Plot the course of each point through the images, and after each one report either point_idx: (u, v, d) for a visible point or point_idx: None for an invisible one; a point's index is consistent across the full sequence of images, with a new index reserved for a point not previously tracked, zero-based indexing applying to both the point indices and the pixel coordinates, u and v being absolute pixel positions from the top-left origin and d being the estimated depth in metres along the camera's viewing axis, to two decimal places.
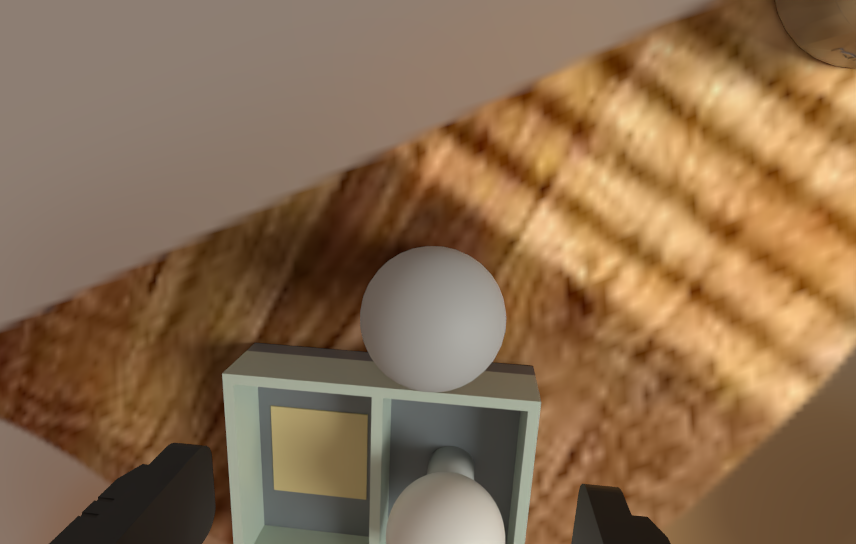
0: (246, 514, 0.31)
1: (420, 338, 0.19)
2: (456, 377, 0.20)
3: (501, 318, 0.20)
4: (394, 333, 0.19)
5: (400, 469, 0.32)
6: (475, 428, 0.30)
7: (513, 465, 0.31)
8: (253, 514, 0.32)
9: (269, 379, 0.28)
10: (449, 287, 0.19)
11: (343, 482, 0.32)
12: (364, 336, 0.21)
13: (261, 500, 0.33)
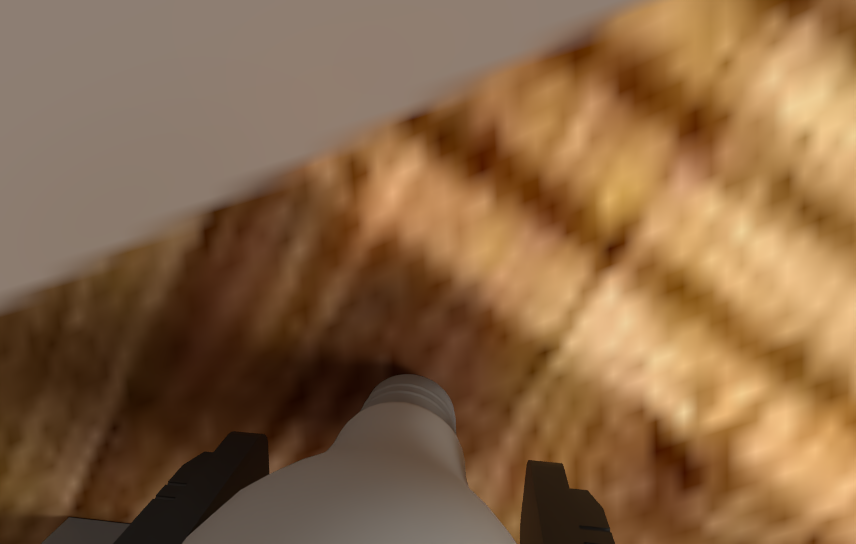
0: None
1: None
2: None
3: None
4: None
5: None
6: None
7: None
8: None
9: None
10: None
11: None
12: None
13: None
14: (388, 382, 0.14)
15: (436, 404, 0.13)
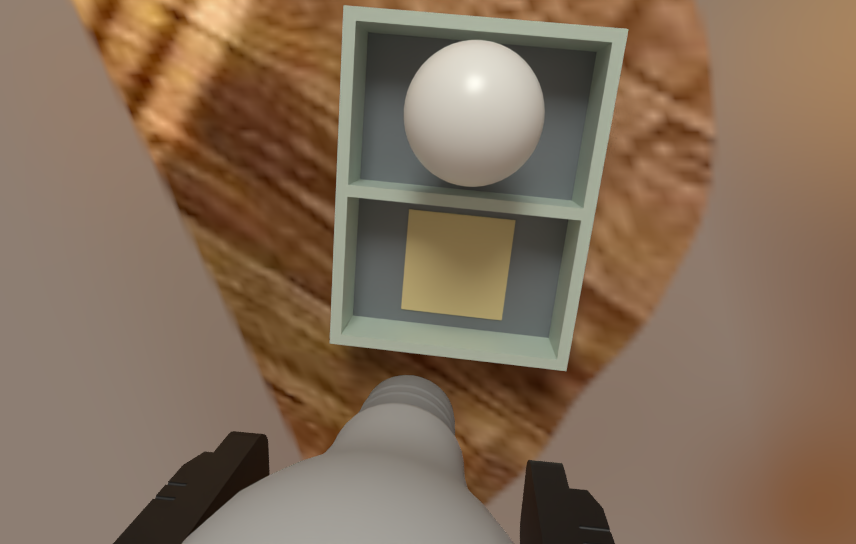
0: (503, 348, 0.28)
1: None
2: None
3: None
4: None
5: None
6: None
7: None
8: (515, 343, 0.29)
9: (334, 298, 0.28)
10: None
11: (493, 244, 0.29)
12: None
13: (512, 335, 0.30)
14: (387, 383, 0.14)
15: (435, 405, 0.13)
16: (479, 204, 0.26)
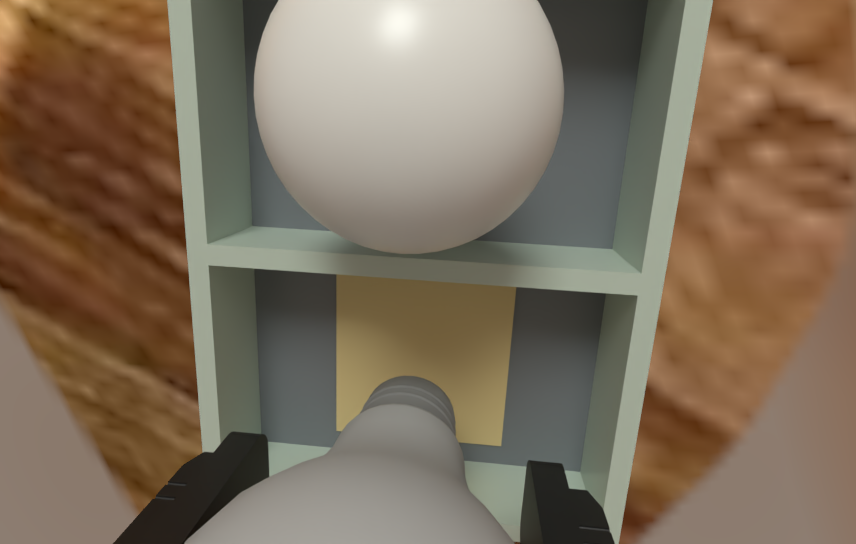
0: (504, 510, 0.16)
1: None
2: None
3: None
4: None
5: None
6: None
7: None
8: None
9: (206, 437, 0.16)
10: None
11: (480, 325, 0.17)
12: None
13: (520, 471, 0.18)
14: (388, 384, 0.14)
15: (436, 406, 0.13)
16: (446, 271, 0.14)
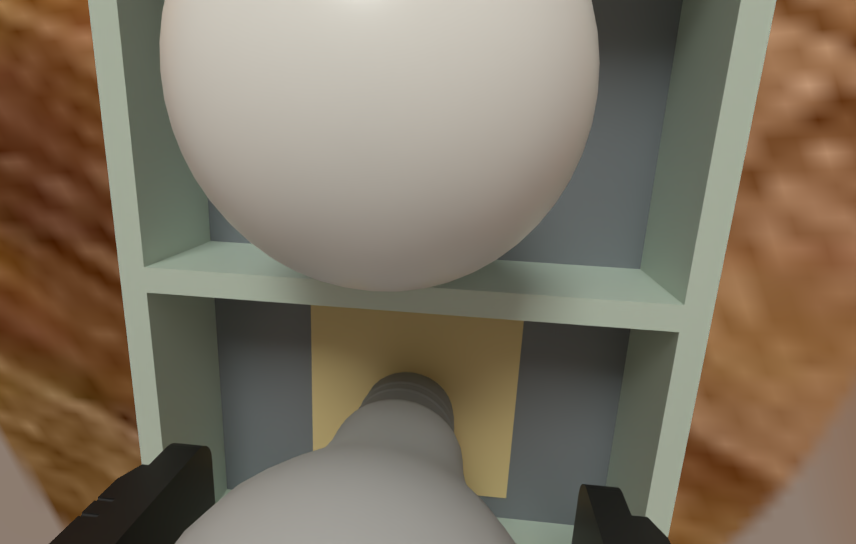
0: None
1: None
2: None
3: None
4: None
5: None
6: None
7: None
8: None
9: None
10: None
11: (482, 358, 0.15)
12: None
13: (529, 527, 0.16)
14: (386, 380, 0.14)
15: (434, 402, 0.13)
16: (439, 302, 0.11)
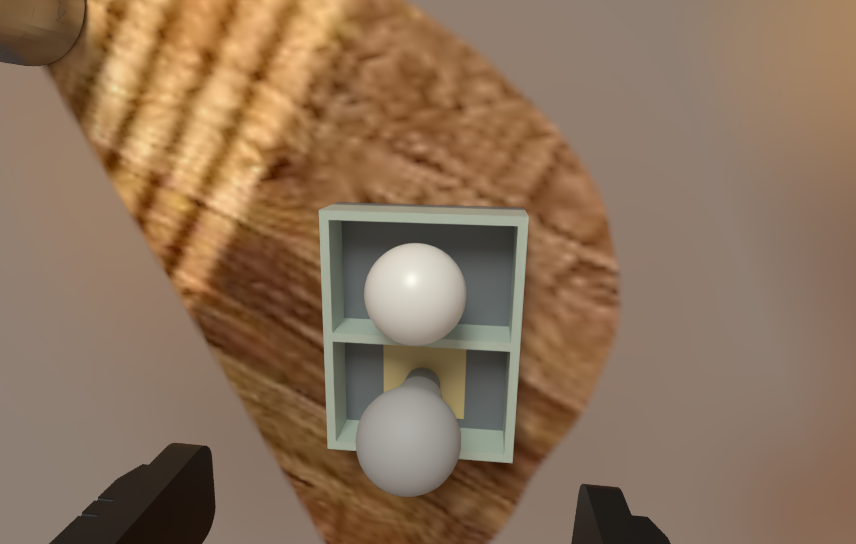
0: (462, 446, 0.36)
1: (396, 466, 0.27)
2: (423, 489, 0.28)
3: (455, 444, 0.29)
4: (378, 462, 0.27)
5: None
6: (386, 251, 0.35)
7: None
8: (474, 439, 0.37)
9: (328, 415, 0.36)
10: (416, 429, 0.27)
11: (451, 361, 0.37)
12: (358, 458, 0.29)
13: (473, 430, 0.38)
14: (414, 370, 0.36)
15: (432, 377, 0.35)
16: (432, 343, 0.34)
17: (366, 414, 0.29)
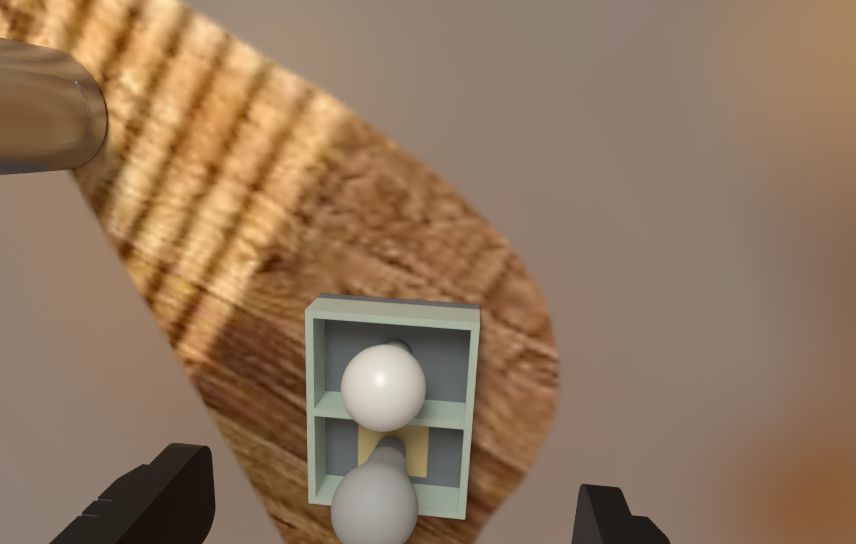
0: (423, 503, 0.42)
1: (362, 536, 0.33)
2: None
3: (412, 515, 0.35)
4: (348, 531, 0.33)
5: None
6: (362, 337, 0.42)
7: None
8: (433, 497, 0.43)
9: (309, 475, 0.42)
10: (379, 505, 0.33)
11: (416, 429, 0.43)
12: None
13: (434, 487, 0.44)
14: (384, 438, 0.42)
15: (398, 446, 0.41)
16: None
17: (340, 488, 0.35)
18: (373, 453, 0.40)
